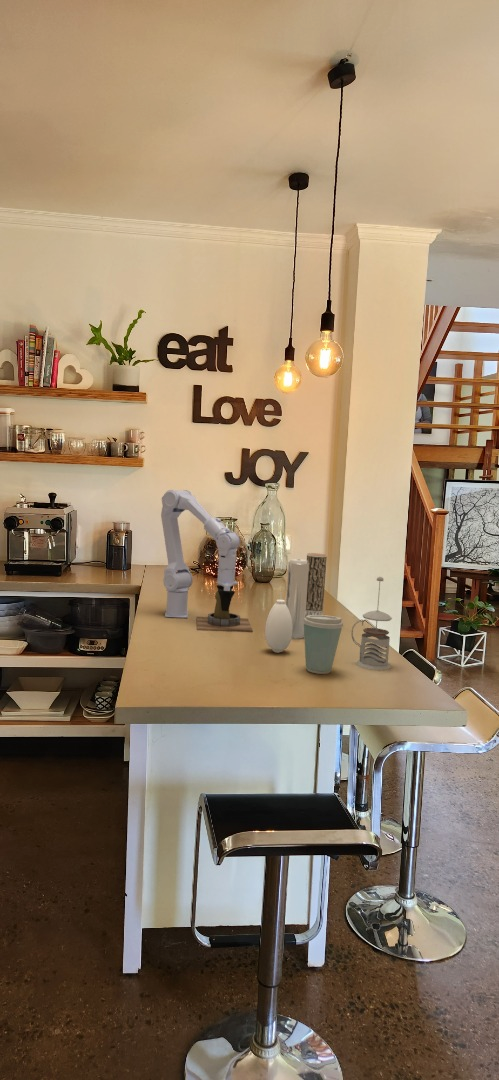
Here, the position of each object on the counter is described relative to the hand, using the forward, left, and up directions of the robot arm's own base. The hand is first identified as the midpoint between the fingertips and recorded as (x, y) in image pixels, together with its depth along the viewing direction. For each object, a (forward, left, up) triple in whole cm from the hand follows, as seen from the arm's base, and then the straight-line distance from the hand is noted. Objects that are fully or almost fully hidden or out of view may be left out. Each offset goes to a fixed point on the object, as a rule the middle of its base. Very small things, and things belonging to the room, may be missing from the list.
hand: (224, 608), depth 230 cm
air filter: (+13, +22, -6) cm, 26 cm away
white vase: (+33, +14, -6) cm, 36 cm away
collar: (0, 0, -6) cm, 6 cm away
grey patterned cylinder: (-4, +31, -6) cm, 32 cm away
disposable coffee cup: (+51, +23, -6) cm, 56 cm away
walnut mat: (0, 0, -6) cm, 6 cm away
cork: (0, -1, -5) cm, 5 cm away
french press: (+43, +39, -6) cm, 58 cm away
